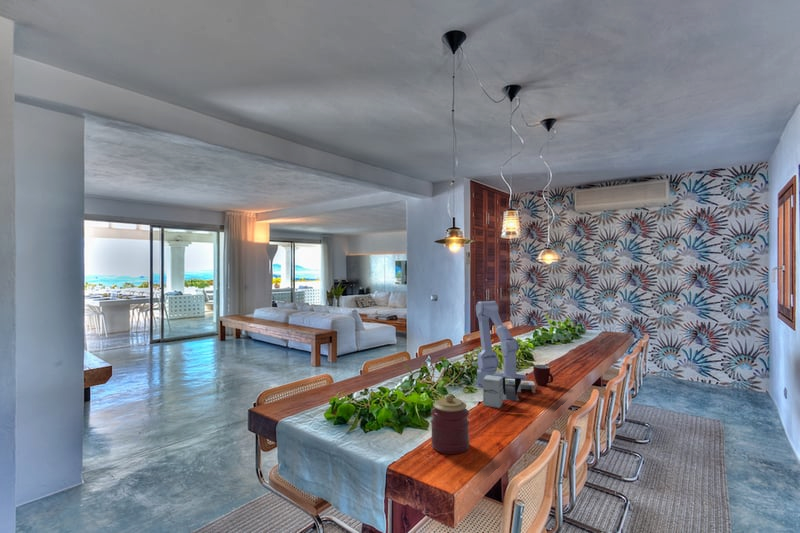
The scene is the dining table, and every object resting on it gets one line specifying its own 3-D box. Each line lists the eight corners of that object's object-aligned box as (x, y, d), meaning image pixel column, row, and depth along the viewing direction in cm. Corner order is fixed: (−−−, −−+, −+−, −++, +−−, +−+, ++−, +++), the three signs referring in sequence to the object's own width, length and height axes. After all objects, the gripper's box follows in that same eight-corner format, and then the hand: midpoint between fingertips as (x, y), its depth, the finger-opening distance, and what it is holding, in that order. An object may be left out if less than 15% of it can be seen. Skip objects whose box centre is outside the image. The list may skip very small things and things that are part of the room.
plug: (506, 398, 177) (506, 391, 177) (505, 393, 185) (505, 386, 185) (515, 399, 177) (515, 391, 177) (514, 394, 184) (514, 386, 184)
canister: (424, 449, 130) (423, 396, 131) (442, 435, 141) (441, 386, 141) (459, 459, 123) (458, 403, 123) (475, 443, 134) (474, 392, 134)
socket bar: (503, 393, 189) (502, 383, 189) (502, 388, 195) (502, 379, 195) (535, 394, 185) (535, 384, 185) (533, 390, 192) (533, 380, 192)
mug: (557, 387, 197) (557, 367, 197) (549, 390, 192) (549, 370, 192) (539, 382, 205) (538, 363, 205) (530, 385, 200) (530, 366, 200)
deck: (500, 401, 177) (500, 399, 177) (500, 394, 187) (500, 392, 187) (519, 402, 175) (519, 400, 175) (517, 395, 185) (517, 393, 185)
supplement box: (482, 407, 169) (482, 378, 169) (487, 402, 176) (486, 374, 176) (499, 410, 166) (499, 380, 166) (503, 404, 172) (503, 376, 173)
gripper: (494, 366, 179) (494, 396, 179) (526, 368, 176) (527, 397, 175) (493, 363, 186) (494, 391, 185) (525, 364, 182) (525, 393, 182)
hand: (510, 394), depth 181 cm, fingers open, 4 cm apart
